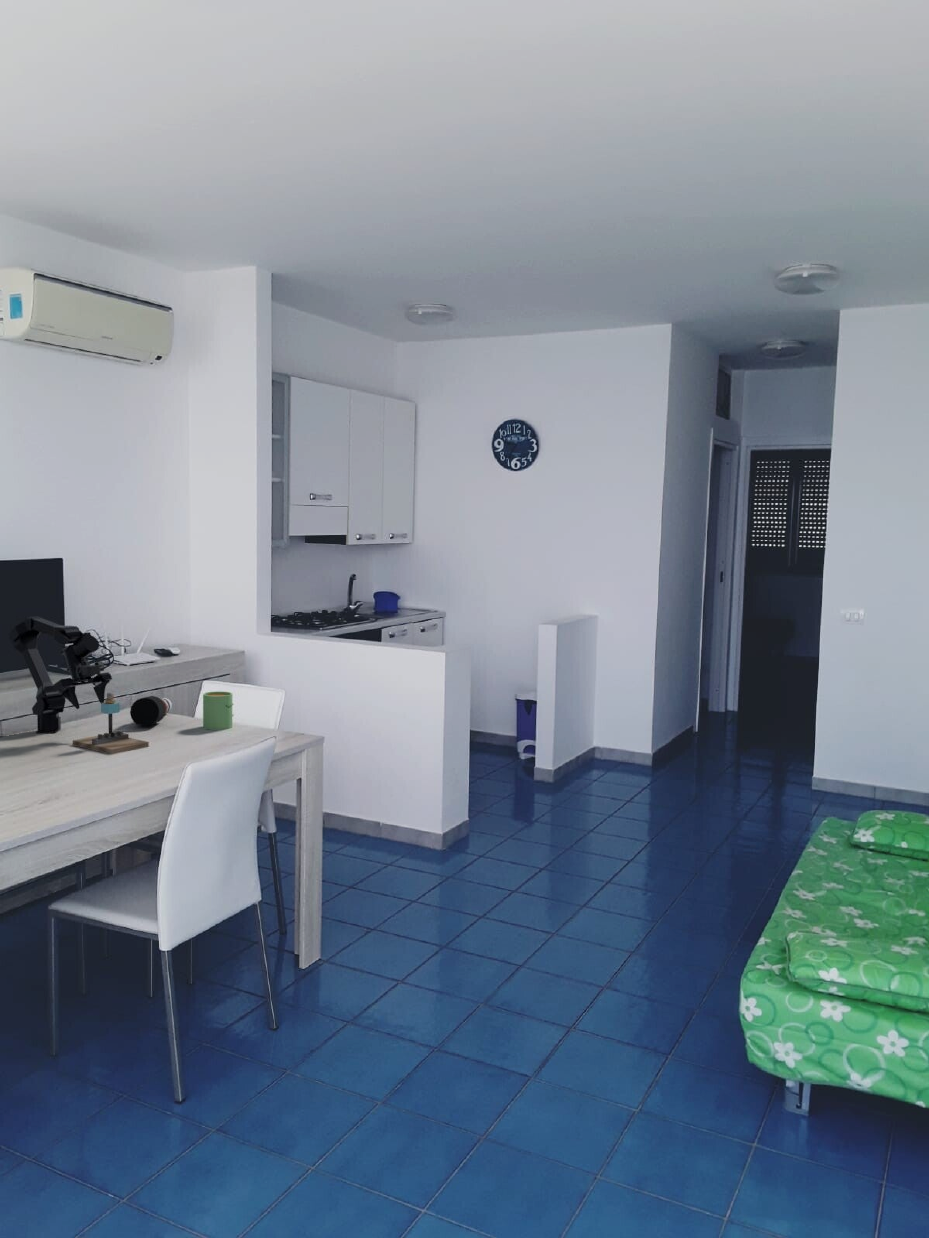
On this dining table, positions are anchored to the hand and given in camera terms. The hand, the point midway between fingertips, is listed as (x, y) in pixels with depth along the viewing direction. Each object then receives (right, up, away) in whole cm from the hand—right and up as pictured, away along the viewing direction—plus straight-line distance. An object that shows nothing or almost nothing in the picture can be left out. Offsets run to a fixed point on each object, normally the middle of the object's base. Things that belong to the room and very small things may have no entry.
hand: (90, 706), depth 327 cm
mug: (+35, -10, +28) cm, 46 cm away
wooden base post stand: (+9, -12, -6) cm, 16 cm away
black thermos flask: (+10, -8, +38) cm, 40 cm away
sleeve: (+9, -1, -7) cm, 11 cm away
